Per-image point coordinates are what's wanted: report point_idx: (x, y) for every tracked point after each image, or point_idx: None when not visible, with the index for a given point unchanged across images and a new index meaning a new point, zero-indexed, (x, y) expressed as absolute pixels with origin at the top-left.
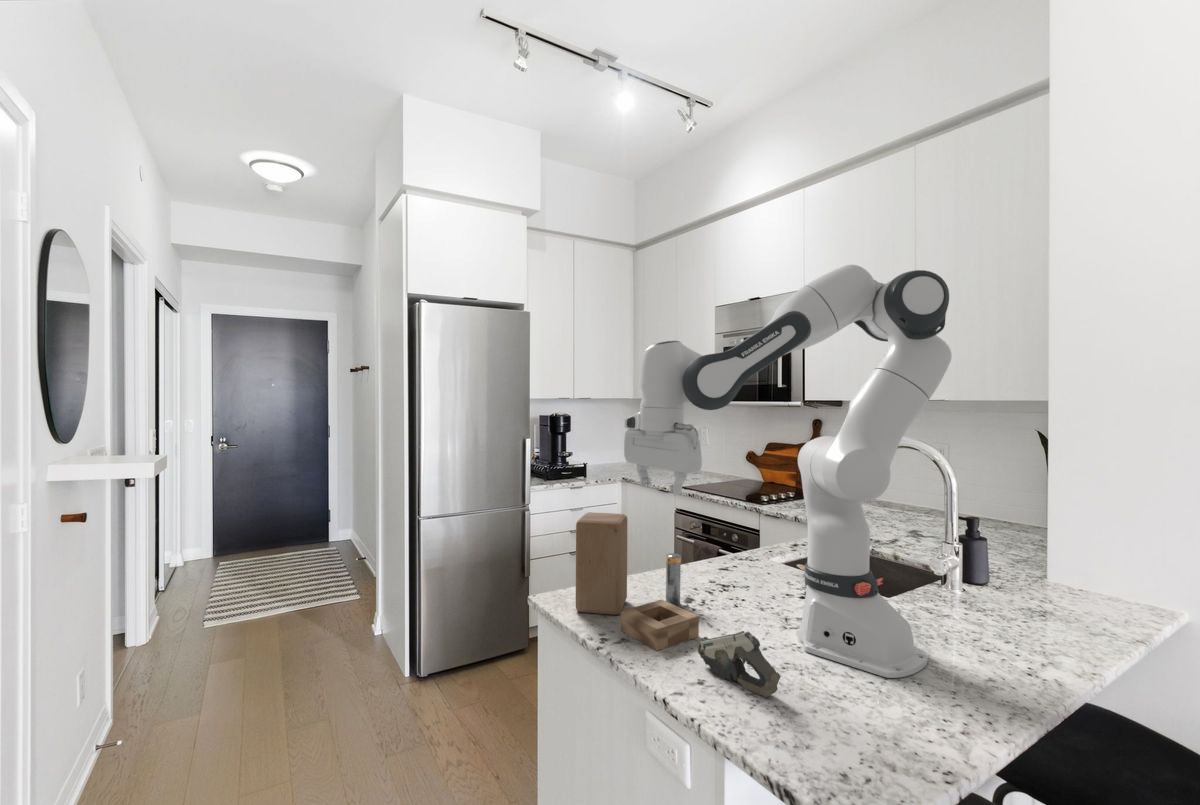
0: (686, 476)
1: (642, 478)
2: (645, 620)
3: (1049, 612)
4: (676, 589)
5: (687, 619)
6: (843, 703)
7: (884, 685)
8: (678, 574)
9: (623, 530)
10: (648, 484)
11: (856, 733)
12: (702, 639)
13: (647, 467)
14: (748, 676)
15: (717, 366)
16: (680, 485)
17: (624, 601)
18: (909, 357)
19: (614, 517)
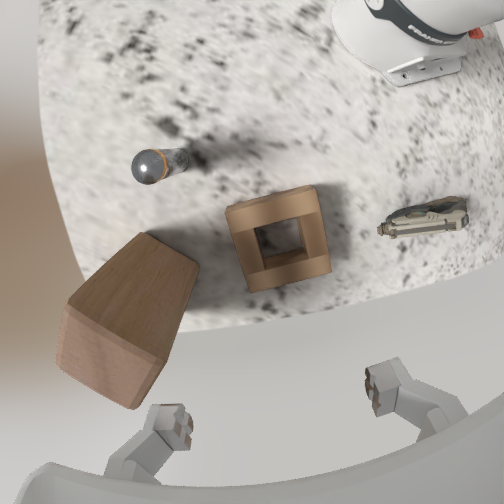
0: (457, 399)
1: (175, 450)
2: (298, 275)
3: None
4: (181, 161)
5: (320, 214)
6: (473, 147)
7: (463, 85)
8: (173, 158)
9: (137, 324)
10: (184, 417)
11: (494, 177)
12: (394, 238)
13: (139, 472)
14: (435, 210)
15: None
16: (410, 385)
17: (166, 246)
18: None
19: (105, 349)
